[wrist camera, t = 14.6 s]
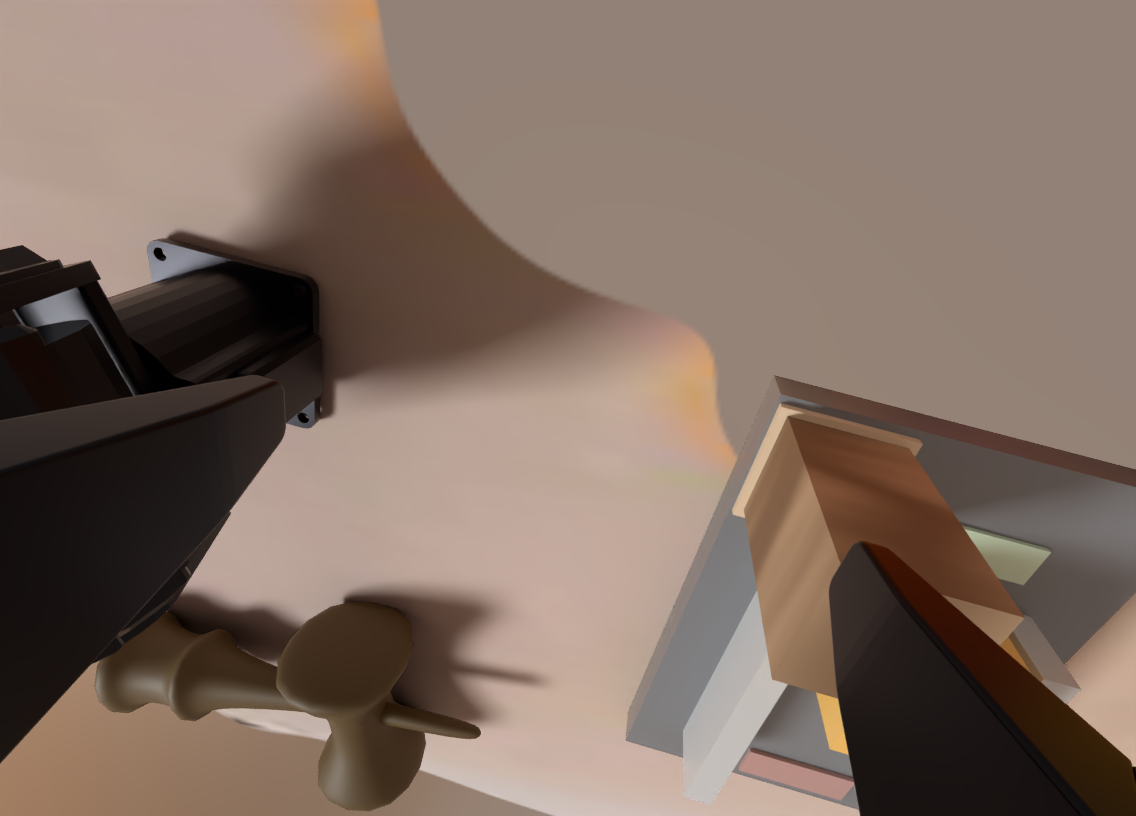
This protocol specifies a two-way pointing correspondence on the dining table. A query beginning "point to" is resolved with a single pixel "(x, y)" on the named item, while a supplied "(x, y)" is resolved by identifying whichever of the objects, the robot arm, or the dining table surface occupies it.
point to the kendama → (296, 691)
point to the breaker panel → (989, 516)
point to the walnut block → (852, 542)
